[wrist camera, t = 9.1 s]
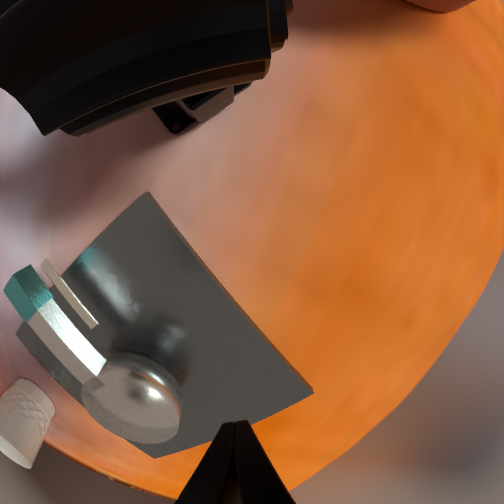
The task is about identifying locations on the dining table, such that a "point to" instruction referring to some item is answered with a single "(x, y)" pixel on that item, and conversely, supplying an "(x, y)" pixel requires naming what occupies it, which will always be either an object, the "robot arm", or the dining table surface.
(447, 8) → the potted cactus
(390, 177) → the dining table surface
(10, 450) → the white cup
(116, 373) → the teal-tipped lever
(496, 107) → the dining table surface
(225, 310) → the lock base
